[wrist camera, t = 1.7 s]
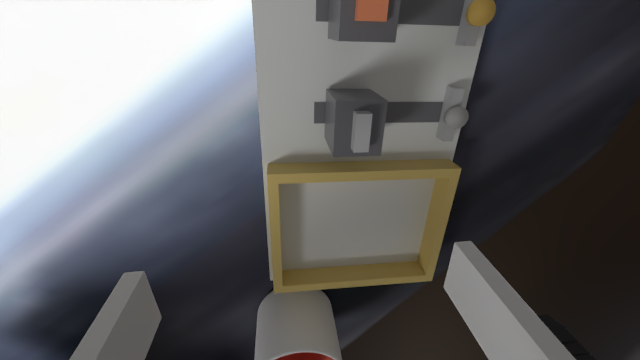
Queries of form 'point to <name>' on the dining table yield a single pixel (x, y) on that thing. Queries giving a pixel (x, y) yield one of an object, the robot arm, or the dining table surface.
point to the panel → (364, 171)
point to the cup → (296, 327)
